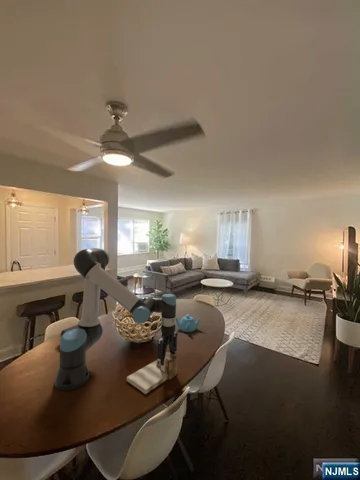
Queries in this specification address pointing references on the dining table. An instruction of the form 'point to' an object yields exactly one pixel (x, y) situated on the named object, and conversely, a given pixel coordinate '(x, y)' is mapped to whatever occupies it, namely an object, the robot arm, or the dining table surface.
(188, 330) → the teapot
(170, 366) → the brown rectangular block
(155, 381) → the board
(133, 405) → the dining table surface
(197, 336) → the dining table surface
